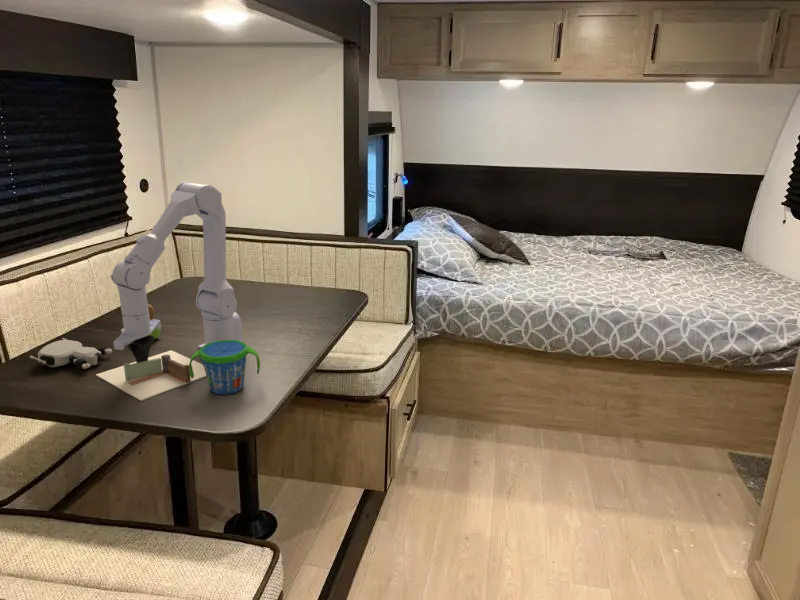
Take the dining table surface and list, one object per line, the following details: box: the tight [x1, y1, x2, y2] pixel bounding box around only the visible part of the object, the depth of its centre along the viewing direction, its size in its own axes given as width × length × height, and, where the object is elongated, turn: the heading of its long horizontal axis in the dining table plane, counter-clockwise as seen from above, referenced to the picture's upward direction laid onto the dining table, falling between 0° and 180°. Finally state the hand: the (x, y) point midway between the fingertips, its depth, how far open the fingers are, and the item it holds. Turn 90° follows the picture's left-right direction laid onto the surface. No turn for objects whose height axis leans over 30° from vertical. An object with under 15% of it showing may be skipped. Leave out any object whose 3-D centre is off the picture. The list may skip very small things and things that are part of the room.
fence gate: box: [123, 358, 162, 381], centre depth 145 cm, size 1×8×4 cm, turn 129°
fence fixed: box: [161, 355, 192, 384], centre depth 146 cm, size 2×10×4 cm, turn 52°
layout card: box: [95, 350, 207, 402], centre depth 148 cm, size 20×20×1 cm
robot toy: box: [29, 337, 113, 370], centre depth 152 cm, size 12×4×15 cm
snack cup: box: [189, 340, 261, 396], centre depth 140 cm, size 16×10×10 cm
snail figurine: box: [148, 303, 162, 340], centre depth 167 cm, size 5×6×12 cm
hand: (142, 366), depth 146 cm, fingers closed, pressing on fence gate
